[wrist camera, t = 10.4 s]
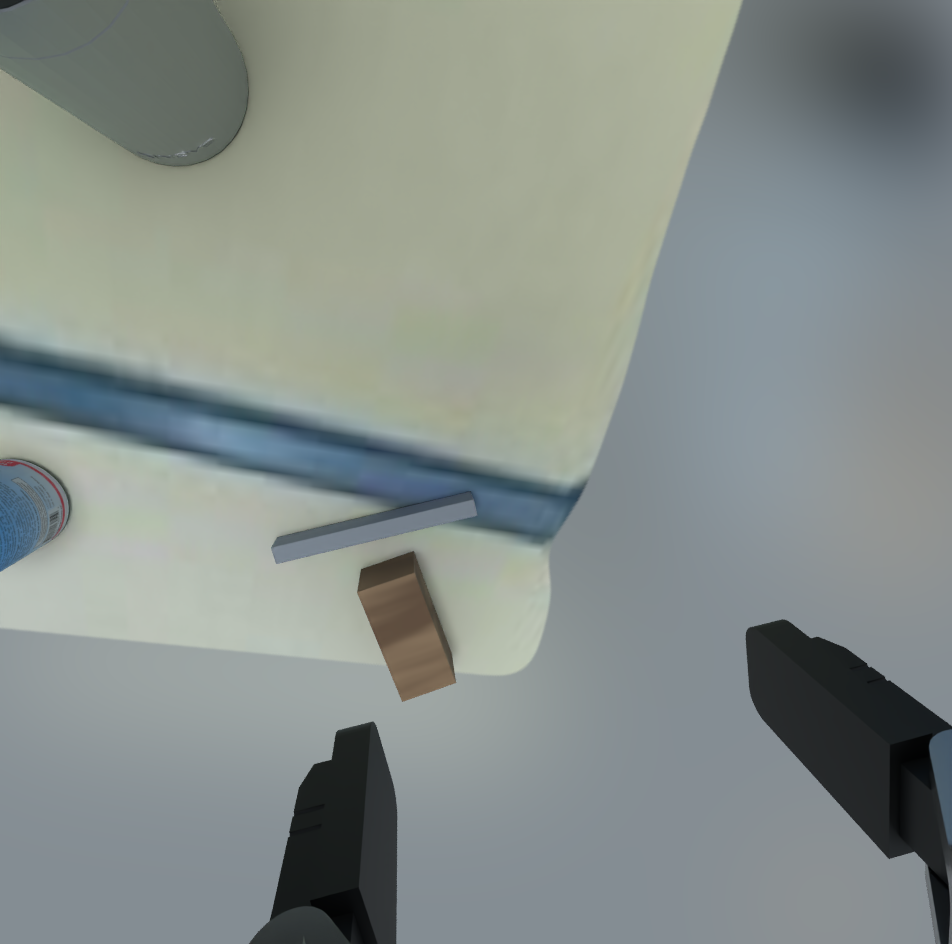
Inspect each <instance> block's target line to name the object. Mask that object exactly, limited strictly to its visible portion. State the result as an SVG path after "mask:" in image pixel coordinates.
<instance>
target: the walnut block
mask: <svg viewBox="0 0 952 944" xmlns="http://www.w3.org/2000/svg"><path fill="white" fill-rule="evenodd" d="M357 593H358V596H359V598H360V600H361V603H362V605H363V608H364V610H365V613H366V615H367V617H368V620H369V622H370V625H371V627H372V629H373V632H374V634H375V637H376V639H377V642H378V644H379V646H380V649H381V651H382V654H383V656H384V659H385V661H386V663H387V666H388V668H389V671H390V673H391V676H392V678H393V680H394V683H395V685H396V688H397V690H398V692H399V695H400V697H401V700H402V702H403V701H406V700H409V699H412V698H415V697H417V696H420V695H423V694H426V693H429V692H432V691H434V690H437V689H440V688H443V687H446V686H448V685H451V684H454V683H456V680H455V673H454V666H453V660H452V653H451V651H450V648H449V645H448V643H447V640H446V637H445V635H444V632H443V629H442V627H441V624H440V621H439V618H438V616H437V613H436V610H435V608H434V605H433V602H432V600H431V597H430V594H429V592H428V589H427V586H426V584H425V581H424V578H423V576H422V573H421V570H420V568H419V565H418V562H417V560H416V557H415V554H414V552H410V553H407V554H404V555H401V556H398V557H396V558H393V559H390V560H387V561H384V562H381V563H378V564H375V565H372V566H369V567H366V568H363V569H361V573H360V579H359V585H358V591H357Z"/></svg>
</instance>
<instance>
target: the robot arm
mask: <svg viewBox="0 0 952 944" xmlns="http://www.w3.org/2000/svg"><path fill="white" fill-rule="evenodd" d="M0 69H2V70H3V71H5V72H6V73H8V74H9V75H11V76H13V77H14V78H16V79H17V80H19V81H20V82H22V83H23V84H25V85H27V86H28V87H30V88H31V89H33V90H34V91H36V92H38V93H39V94H41V95H42V96H44V97H45V98H47V99H48V100H50V101H52V102H53V103H55V104H56V105H58V106H59V107H61V108H63V109H64V110H66V111H67V112H69V113H70V114H72V115H73V116H75V117H77V118H78V119H80V120H81V121H83V122H84V123H86V124H88V125H89V126H91V127H92V128H94V129H95V130H97V131H98V132H100V133H101V134H103V135H105V136H106V137H108V138H109V139H111V140H112V141H114V142H116V143H117V144H119V145H120V146H122V147H123V148H125V149H127V150H129V151H130V152H132V153H134V154H135V155H137V156H139V157H141V158H143V159H146V160H149V161H152V162H154V163H157V164H164V165H171V166H181V165H192V164H195V163H198V162H202V161H205V160H207V159H209V158H211V157H212V156H214V155H216V154H217V153H219V152H221V151H222V150H223V149H224V148H225V147H226V146H227V145H228V144H229V143H230V142H231V141H232V140H233V138H234V136H235V135H236V133H237V131H238V129H239V128H240V126H241V124H242V121H243V118H244V115H245V112H246V109H247V99H248V80H247V71H246V67H245V64H244V60H243V57H242V53H241V51H240V49H239V47H238V45H237V43H236V41H235V39H234V37H233V35H232V33H231V31H230V29H229V28H228V26H227V24H226V23H225V21H224V19H223V17H222V16H221V14H220V12H219V11H218V9H217V7H216V6H215V4H214V2H213V0H0ZM746 648H747V662H748V676H749V688H750V694H751V698H752V701H753V703H754V705H755V707H756V709H757V711H758V713H759V715H760V716H761V718H762V719H763V720H764V721H765V722H766V724H767V725H768V726H769V727H770V728H771V729H772V730H773V731H774V732H775V734H776V735H777V736H778V737H779V738H780V739H781V740H782V741H783V742H784V744H785V745H786V746H787V747H788V748H789V749H790V750H791V751H792V752H793V754H795V756H796V757H797V758H798V759H799V760H800V761H801V762H802V763H803V765H804V766H805V767H806V768H807V769H808V770H809V771H810V772H811V773H812V774H813V776H814V777H815V778H816V779H817V780H818V781H819V782H820V783H821V784H822V786H823V787H824V788H825V789H826V790H827V791H828V792H829V793H830V794H831V795H832V797H833V798H834V799H835V800H836V801H837V802H838V803H839V804H840V805H841V806H842V808H843V809H844V810H845V811H846V812H847V813H848V814H849V815H850V816H851V817H852V819H853V820H854V821H855V822H856V823H857V824H858V825H859V826H860V827H861V828H862V830H863V831H864V832H865V833H866V834H867V835H868V836H869V837H870V838H871V840H872V841H873V842H874V843H875V844H876V845H877V846H878V847H879V848H880V850H881V851H882V852H883V853H884V854H885V855H886V856H887V857H888V858H889V859H890V858H894V857H897V856H901V855H904V854H908V853H911V852H916V853H917V854H918V856H919V857H920V858H921V859H922V860H923V861H924V862H925V863H926V865H925V879H926V885H927V891H928V898H929V905H930V911H931V917H932V924H933V930H934V936H935V943H936V944H952V726H951V725H949V724H948V723H947V722H945V721H944V720H943V719H941V718H940V717H939V716H937V715H936V714H934V713H933V712H932V711H930V710H929V709H928V708H926V707H925V706H923V705H922V704H921V703H919V702H918V701H917V700H915V699H914V698H913V697H911V696H910V695H909V694H907V693H906V692H905V691H903V690H902V689H901V688H899V687H898V686H897V685H895V684H894V683H892V682H891V681H887V680H886V679H885V677H884V676H883V675H882V674H880V673H879V672H877V671H876V670H875V669H873V668H872V667H868V666H867V663H865V662H864V661H863V660H861V659H860V658H859V657H857V656H856V655H854V654H853V653H852V652H850V651H849V650H848V649H846V648H844V647H842V646H839V645H837V644H834V643H832V642H830V641H827V640H825V639H822V638H820V637H815V638H809V637H808V636H807V635H806V634H804V633H803V632H802V631H801V630H799V629H798V628H797V627H795V626H794V625H793V624H791V623H790V622H789V621H787V620H779V621H774V622H770V623H766V624H762V625H758V626H754V627H750V628H748V630H747V632H746ZM289 833H290V837H288V841H287V845H286V850H285V854H284V859H283V864H282V868H281V873H280V878H279V882H278V887H277V892H276V896H275V900H274V905H273V910H272V914H271V918H270V921H269V922H268V923H267V924H266V925H265V926H264V927H263V928H262V929H261V930H260V931H259V932H258V933H257V934H256V935H255V936H254V938H253V939H252V940H251V942H250V943H249V944H396V904H397V805H396V797H395V791H394V786H393V782H392V778H391V775H390V771H389V767H388V764H387V761H386V757H385V754H384V751H383V747H382V744H381V740H380V737H379V733H378V730H377V727H376V725H375V723H374V722H369V723H365V724H361V725H358V726H353V727H349V728H346V729H342V730H338V731H337V732H336V736H335V742H334V749H333V755H332V760H329V761H325V762H321V763H317V764H314V765H313V767H312V768H311V770H310V771H309V773H308V775H307V776H306V778H305V779H304V781H303V782H302V784H301V785H300V787H299V790H298V795H297V799H296V804H295V809H294V817H293V818H292V822H291V827H290V831H289Z"/></svg>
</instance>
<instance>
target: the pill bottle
mask: <svg viewBox="0 0 952 944" xmlns="http://www.w3.org/2000/svg"><path fill="white" fill-rule="evenodd" d="M68 513H69V504H68V499H67V496H66V494H65V492H64V490H63V488H62V487H61V485H60V484H59V483H58V482H57V480H56V479H55V478H54V477H52V476H51V475H50V474H49V473H47V472H46V471H45V470H43V469H42V468H40V467H38V466H36V465H34V464H32V463H29V462H26V461H23V460H17V459H2V460H0V572H1V571H3V570H4V569H6V568H7V567H9V566H11V565H12V564H14V563H16V562H17V561H19V560H20V559H22V558H24V557H25V556H27V555H29V554H30V553H32V552H33V551H35V550H37V549H38V548H40V547H42V546H43V545H45V544H46V543H48V542H49V541H51V540H53V539H54V538H55V537H56V536H57V535H58V534H59V533H60V532H61V531H62V529H63V528H64V526H65V524H66V521H67V518H68Z"/></svg>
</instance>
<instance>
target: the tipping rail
mask: <svg viewBox="0 0 952 944" xmlns="http://www.w3.org/2000/svg"><path fill="white" fill-rule="evenodd" d="M474 516H477V512H476V507H475V503H474V499H473V496H472V494H471V491H470V492H466V493H462V494H458V495H454V496H449V497H445V498H441V499H437V500H433V501H428V502H424V503H420V504H416V505H411V506H407V507H403V508H399V509H395V510H390V511H386V512H382V513H378V514H374V515H369V516H365V517H361V518H357V519H353V520H348V521H344V522H340V523H336V524H332V525H327V526H323V527H319V528H315V529H310V530H306V531H302V532H298V533H294V534H289V535H285V536H281V537H277V539H276V540H275V542H274V544H273V545H272V547H271V549H272V552H273V555H274V559H275V562H276V564H278V563H283V562H287V561H291V560H295V559H299V558H303V557H308V556H312V555H316V554H320V553H324V552H328V551H332V550H337V549H341V548H345V547H349V546H353V545H357V544H362V543H366V542H370V541H374V540H378V539H382V538H387V537H391V536H395V535H399V534H403V533H407V532H411V531H416V530H420V529H424V528H428V527H432V526H436V525H441V524H445V523H449V522H453V521H457V520H461V519H466V518H470V517H474Z"/></svg>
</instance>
